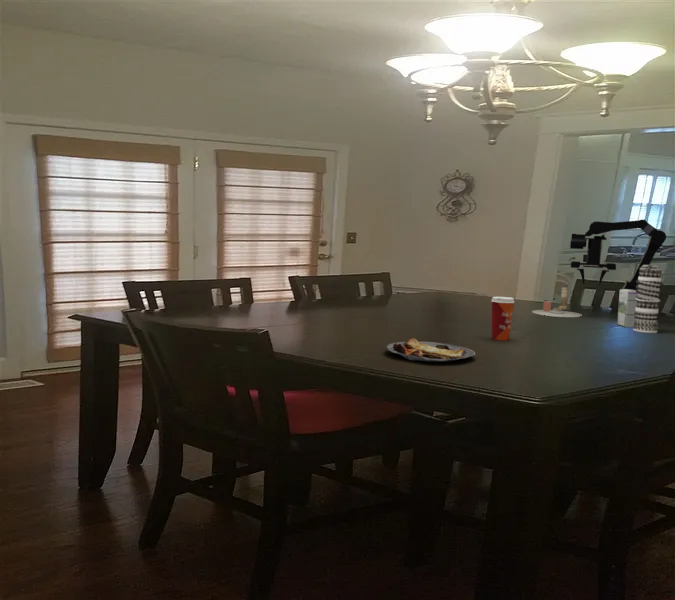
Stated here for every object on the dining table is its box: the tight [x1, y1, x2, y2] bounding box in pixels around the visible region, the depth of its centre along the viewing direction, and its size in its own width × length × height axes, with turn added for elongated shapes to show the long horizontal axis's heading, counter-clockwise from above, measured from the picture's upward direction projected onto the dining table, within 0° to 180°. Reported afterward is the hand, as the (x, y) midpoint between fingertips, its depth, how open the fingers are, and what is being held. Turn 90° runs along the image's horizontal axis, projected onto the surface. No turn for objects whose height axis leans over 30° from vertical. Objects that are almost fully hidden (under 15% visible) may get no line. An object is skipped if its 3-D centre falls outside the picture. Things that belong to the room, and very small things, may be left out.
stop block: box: [542, 300, 552, 311], centre depth 296 cm, size 3×2×4 cm
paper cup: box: [490, 296, 515, 342], centre depth 219 cm, size 8×8×14 cm
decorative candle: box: [632, 264, 664, 334], centre depth 248 cm, size 9×9×25 cm
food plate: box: [385, 337, 476, 363], centre depth 188 cm, size 25×23×4 cm
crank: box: [552, 286, 569, 311], centre depth 294 cm, size 12×3×9 cm, turn 145°
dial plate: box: [531, 309, 583, 318], centre depth 290 cm, size 21×21×1 cm
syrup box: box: [616, 288, 638, 328], centre depth 259 cm, size 6×6×14 cm
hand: (591, 284), depth 293 cm, fingers open, 6 cm apart
